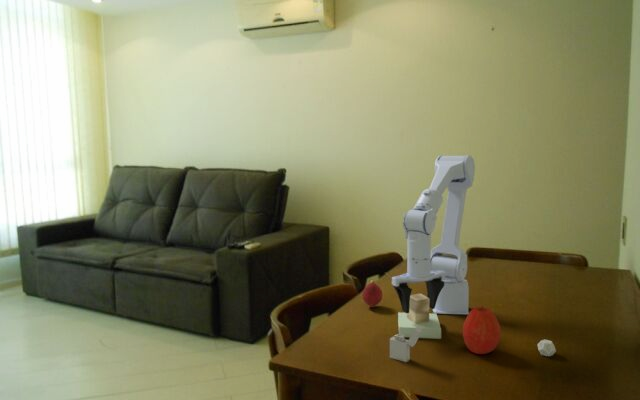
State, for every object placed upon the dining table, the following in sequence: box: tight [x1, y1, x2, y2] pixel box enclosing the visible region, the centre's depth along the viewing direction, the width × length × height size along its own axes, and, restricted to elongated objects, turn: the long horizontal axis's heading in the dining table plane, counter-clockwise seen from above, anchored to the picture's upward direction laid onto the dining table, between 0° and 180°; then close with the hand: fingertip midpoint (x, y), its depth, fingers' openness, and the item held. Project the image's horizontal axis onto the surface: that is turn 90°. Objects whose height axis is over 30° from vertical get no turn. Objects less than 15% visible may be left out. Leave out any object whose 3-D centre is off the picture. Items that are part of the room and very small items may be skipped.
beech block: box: [407, 293, 430, 324], centre depth 112 cm, size 4×4×6 cm
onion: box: [361, 279, 383, 308], centre depth 129 cm, size 6×6×8 cm
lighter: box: [389, 326, 423, 363], centre depth 96 cm, size 7×2×8 cm, turn 54°
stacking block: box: [397, 311, 442, 340], centre depth 113 cm, size 10×10×3 cm
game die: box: [537, 338, 557, 357], centre depth 98 cm, size 4×4×3 cm
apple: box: [462, 305, 502, 355], centre depth 99 cm, size 8×8×11 cm
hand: (418, 309), depth 112 cm, fingers open, 7 cm apart
